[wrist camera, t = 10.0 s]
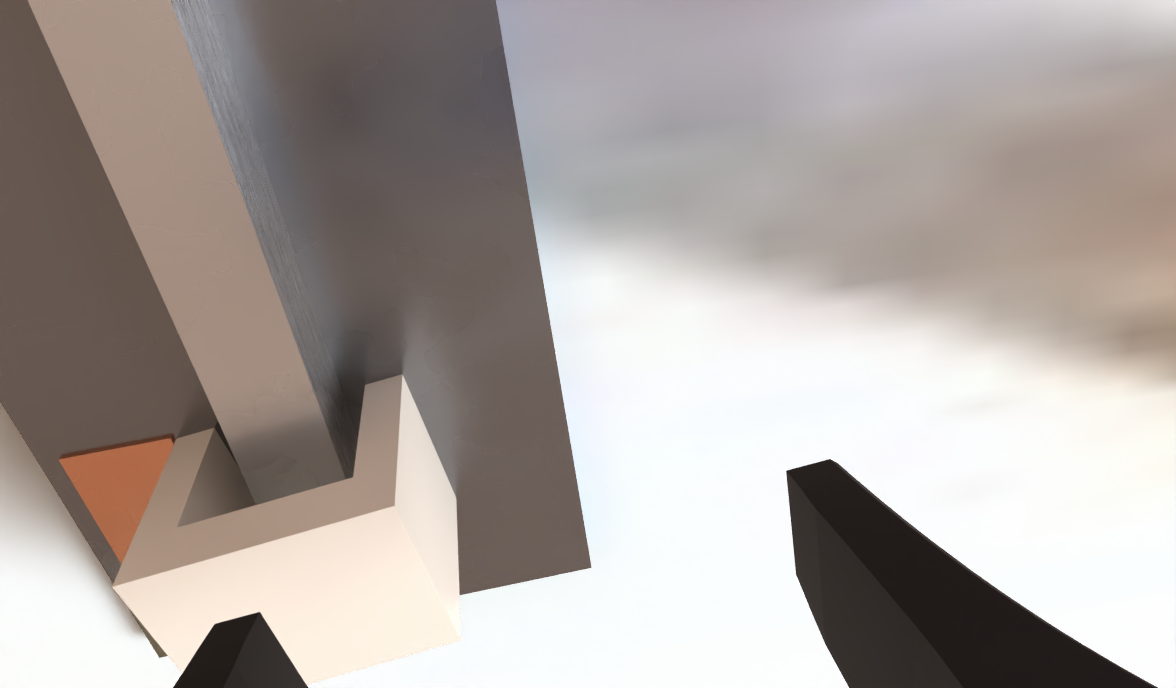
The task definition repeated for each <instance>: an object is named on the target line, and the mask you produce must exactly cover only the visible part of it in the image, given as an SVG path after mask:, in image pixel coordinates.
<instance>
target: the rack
mask: <svg viewBox="0 0 1176 688" xmlns="http://www.w3.org/2000/svg"><path fill="white" fill-rule="evenodd" d="M401 374H403V376H404V379H405V381H406V383H407V386H408V388H409V390H410V392H411V395H412V397H413V399H414V402H415V404H416V406H417V409H418V411H419V413H420V415H421V418H422V420H423V422H424V425H425V427H426V429H427V432H428V434H429V436H430V438H431V441H432V443H433V445H434V448H435V450H436V452H437V455H438V457H439V459H440V461H441V464H442V466H443V468H444V471H445V473H446V475H447V478H448V480H449V482H450V484H451V487H452V489H453V491H454V494H455V496H456V505H457V535H458V565H459V595H462V594H467V593H472V592H477V591H482V590H486V589H491V588H496V587H501V586H506V585H510V584H515V583H520V582H525V581H530V580H534V579H539V578H544V577H549V576H554V575H558V574H563V573H568V572H573V571H578V570H582V569H587V568H591V562H590V556H589V550H588V545H587V539H586V533H585V527H584V521H583V515H582V509H581V503H580V497H579V491H578V485H577V479H576V474H575V468H574V462H573V456H572V450H571V444H570V438H569V432H568V426H567V420H566V414H565V409H564V403H563V397H562V391H561V385H560V379H559V373H558V367H557V361H556V355H555V349H554V343H553V338H552V332H551V326H550V320H549V314H548V308H547V302H546V296H545V290H544V284H543V278H542V272H541V267H540V261H539V255H538V249H537V243H536V237H535V231H534V225H533V219H532V213H531V207H530V202H529V196H528V190H527V184H526V178H525V172H524V166H523V160H522V154H521V148H520V142H519V136H518V131H517V125H516V119H515V113H514V107H513V101H512V95H511V89H510V83H509V77H508V71H507V65H506V60H505V54H504V48H503V42H502V36H501V30H500V24H499V18H498V12H497V6H496V0H0V401H1V403H2V405H3V406H4V408H5V409H6V411H7V413H8V414H9V416H10V418H11V419H12V421H13V422H14V424H15V426H16V427H17V429H18V430H19V432H20V434H21V435H22V437H23V439H24V440H25V442H26V443H27V445H28V447H29V448H30V450H31V451H32V453H33V455H34V456H35V458H36V459H37V461H38V463H39V464H40V466H41V468H42V469H43V471H44V472H45V474H46V476H47V477H48V479H49V480H50V482H51V484H52V485H53V487H54V488H55V490H56V492H57V493H58V495H59V497H60V498H61V500H62V501H63V503H64V505H65V506H66V508H67V509H68V511H69V513H70V514H71V516H72V517H73V519H74V521H75V522H76V524H77V526H78V527H79V529H80V530H81V532H82V534H83V535H84V537H85V538H86V540H87V542H88V543H89V545H90V546H91V548H92V550H93V551H94V553H95V555H96V556H97V558H98V559H99V561H100V563H101V564H102V566H103V567H104V569H105V571H106V572H107V574H108V576H109V577H110V579H111V580H112V582H113V583H114V581H115V579H116V577H117V574H118V572H119V570H120V567H121V565H122V563H123V560H124V558H125V556H126V554H127V551H128V549H129V547H130V544H131V542H132V540H133V537H134V535H135V533H136V531H137V528H138V526H139V524H140V521H141V519H142V517H143V515H144V512H145V510H146V508H147V505H148V503H149V501H150V498H151V496H152V494H153V492H154V489H155V487H156V485H157V482H158V480H159V478H160V475H161V473H162V471H163V469H164V466H165V464H166V462H167V459H168V457H169V455H170V452H171V450H172V448H173V446H174V443H175V441H176V439H177V438H180V437H184V436H187V435H191V434H194V433H198V432H201V431H205V430H208V429H212V428H215V430H216V431H217V433H218V435H219V436H220V438H221V439H222V441H223V443H224V444H225V446H226V448H227V449H228V451H229V452H230V454H231V456H232V457H233V459H234V461H235V462H236V464H237V465H238V467H239V469H240V470H241V473H242V475H243V477H244V479H245V481H246V484H247V486H248V488H249V490H250V492H251V495H252V497H253V499H254V501H255V504H256V505H258V504H262V503H265V502H269V501H272V500H276V499H279V498H283V497H286V496H290V495H293V494H297V493H300V492H304V491H307V490H310V489H314V488H317V487H321V486H324V485H328V484H331V483H335V482H338V481H342V480H345V479H349V478H352V477H353V474H354V466H355V459H356V451H357V443H358V435H359V427H360V420H361V412H362V404H363V396H364V389H365V385H366V384H370V383H373V382H377V381H380V380H384V379H387V378H391V377H394V376H398V375H401ZM128 608H129V607H128ZM130 611H131V610H130ZM131 613H132V614H133V612H132V611H131ZM133 616H134V617H135V619H136V621H137V622H138V624H139V625H140V627H141V629H142V630H143V632H144V634H145V635H146V637H147V638H148V640H149V642H150V643H151V645H152V646H153V648H154V650H155V651H156V653H157V654H158V656H159V658H160V657H165V656H168V655H167V654H166V653H165V652H164V650H163V649H162V648H161V647H160V645H159V644H158V643H157V642H156V641H155V639H154V638H153V637H152V636H151V634H150V633H149V632H148V631H147V629H146V628H145V627H144V626H143V625H142V623H141V622H140V621H139V620H138V618H137V617H136V616H135V615H134V614H133Z"/></svg>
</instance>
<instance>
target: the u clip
mask: <svg viewBox="0 0 1176 688" xmlns="http://www.w3.org/2000/svg"><path fill="white" fill-rule="evenodd" d="M112 588H113V589H114V590H115V591H116V593H117V594H118V595H119V596H120V598H121V599H122V600H123V601H124V602H125V604H126V605H127V606H128V607H129V609H130V610H131V611H132V612H133V614H134V615H135V616H136V617H137V618H138V620H139V621H140V622H141V623H142V625H143V626H144V627H145V628H146V629H147V631H148V632H149V633H150V634H151V636H152V637H153V638H154V639H155V641H156V642H157V643H158V644H159V645H160V647H161V648H162V649H163V650H164V652H165V653H166V654H167V655H168V657H169V658H170V659H171V660H172V661H173V663H174V664H175V665H176V666H177V668H178V669H179V670H180V671H181V673H183V672H184V670H185V669H186V667H187V665H188V664H189V662H190V661H191V659H192V658H193V656H194V654H195V653H196V651H197V650H198V648H199V647H200V645H201V644H202V642H203V641H204V639H205V638H206V636H207V635H208V633H209V632H210V630H211V629H212V627H213V626H214V624H216V623H220V622H223V621H227V620H231V619H235V618H238V617H242V616H246V615H250V614H253V613H257V612H260V613H261V614H262V616H263V618H264V619H265V621H266V622H267V624H268V625H269V627H270V629H271V630H272V632H273V633H274V635H275V636H276V638H277V640H278V641H279V643H280V644H281V646H282V647H283V649H284V650H285V652H286V654H287V655H288V657H289V658H290V660H291V661H292V663H293V665H294V666H295V668H296V669H297V671H298V672H299V674H300V676H301V677H302V679H303V680H304V682H305V683H306V685H308V684H312V683H315V682H319V681H322V680H326V679H329V678H332V677H336V676H339V675H343V674H346V673H350V672H353V671H357V670H360V669H364V668H367V667H370V666H374V665H377V664H381V663H384V662H388V661H391V660H395V659H398V658H401V657H405V656H408V655H412V654H415V653H419V652H422V651H426V650H429V649H433V648H436V647H439V646H443V645H446V644H450V643H453V642H457V641H460V640H461V625H460V595H459V565H458V535H457V505H456V496H455V494H454V491H453V489H452V487H451V484H450V482H449V480H448V478H447V475H446V473H445V471H444V468H443V466H442V464H441V461H440V459H439V457H438V455H437V452H436V450H435V448H434V445H433V443H432V441H431V438H430V436H429V434H428V432H427V429H426V427H425V425H424V422H423V420H422V418H421V415H420V413H419V411H418V409H417V406H416V404H415V402H414V399H413V397H412V395H411V392H410V390H409V388H408V386H407V383H406V381H405V379H404V376H403V374H401V375H398V376H394V377H391V378H387V379H384V380H380V381H377V382H373V383H370V384H366V385H365V389H364V396H363V404H362V412H361V420H360V427H359V435H358V443H357V451H356V459H355V466H354V474H353V477H352V478H349V479H345V480H342V481H338V482H335V483H331V484H328V485H324V486H321V487H317V488H314V489H310V490H307V491H304V492H300V493H297V494H293V495H290V496H286V497H283V498H279V499H276V500H272V501H269V502H265V503H262V504H258V505H256V504H255V501H254V499H253V497H252V495H251V492H250V490H249V488H248V486H247V484H246V481H245V479H244V477H243V475H242V473H241V470H240V469H239V467H238V465H237V464H236V462H235V461H234V459H233V457H232V456H231V454H230V452H229V451H228V449H227V448H226V446H225V444H224V443H223V441H222V439H221V438H220V436H219V435H218V433H217V431H216V430H215V428H212V429H208V430H205V431H201V432H198V433H194V434H191V435H187V436H184V437H180V438H177V439H176V441H175V443H174V446H173V448H172V450H171V452H170V455H169V457H168V459H167V462H166V464H165V466H164V469H163V471H162V473H161V475H160V478H159V480H158V482H157V485H156V487H155V489H154V492H153V494H152V496H151V498H150V501H149V503H148V505H147V508H146V510H145V512H144V515H143V517H142V519H141V521H140V524H139V526H138V528H137V531H136V533H135V535H134V537H133V540H132V542H131V544H130V547H129V549H128V551H127V554H126V556H125V558H124V560H123V563H122V565H121V567H120V570H119V572H118V574H117V577H116V579H115V581H114V583H113V586H112Z"/></svg>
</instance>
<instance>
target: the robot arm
mask: <svg viewBox="0 0 1176 688" xmlns="http://www.w3.org/2000/svg"><path fill="white" fill-rule="evenodd" d="M786 473H787V483H788V494H789V504H790V514H791V525H792V535H793V546H794V556H795V566H796V575H797V577H798V580H799V582H800V585H801V587H802V589H803V592H804V594H805V597H806V599H807V602H808V604H809V607H810V609H811V611H812V614H813V616H814V618H815V621H816V623H817V625H818V628H819V630H820V632H821V635H822V637H823V639H824V642H825V644H826V646H827V648H828V650H829V651H830V653H831V655H832V657H833V659H834V661H835V662H836V664H837V666H838V668H839V670H840V672H841V673H842V675H843V677H844V679H845V681H846V682H847V684H848V686H849V688H1157V687H1156V686H1154V685H1152V684H1150V683H1148V682H1147V681H1145V680H1143V679H1141V678H1139V677H1137V676H1136V675H1134V674H1132V673H1130V672H1128V671H1127V670H1125V669H1123V668H1121V667H1120V666H1118V665H1116V664H1115V663H1113V662H1111V661H1110V660H1108V659H1106V658H1104V657H1103V656H1101V655H1099V654H1098V653H1096V652H1094V651H1093V650H1091V649H1089V648H1088V647H1086V646H1084V645H1082V644H1081V643H1079V642H1078V641H1076V640H1074V639H1073V638H1071V637H1070V636H1068V635H1066V634H1065V633H1063V632H1061V631H1060V630H1058V629H1057V628H1055V627H1054V626H1052V625H1051V624H1049V623H1047V622H1046V621H1044V620H1043V619H1041V618H1040V617H1038V616H1037V615H1035V614H1034V613H1032V612H1031V611H1029V610H1028V609H1026V608H1025V607H1023V606H1022V605H1020V604H1019V603H1017V602H1016V601H1014V600H1013V599H1011V598H1010V597H1008V596H1007V595H1005V594H1004V593H1002V592H1001V591H999V590H998V589H997V588H995V587H994V586H992V585H991V584H989V583H988V582H987V581H985V580H984V579H982V578H981V577H980V576H978V575H977V574H975V573H974V572H973V571H971V570H970V569H969V568H967V567H966V566H965V565H963V564H962V563H961V562H959V561H958V560H956V559H955V558H954V557H952V556H951V555H950V554H948V553H947V552H946V551H944V550H943V549H942V548H940V547H939V546H938V545H936V544H935V543H934V542H932V541H931V540H930V539H928V538H927V537H926V536H925V535H923V534H922V533H921V532H919V531H918V530H917V529H916V528H914V527H913V526H912V525H911V524H909V523H908V522H907V521H906V520H904V519H903V518H902V517H901V516H899V515H898V514H897V513H896V512H894V511H893V510H892V509H891V508H890V507H888V506H887V505H886V504H885V503H883V502H882V501H881V500H880V499H879V498H877V497H876V496H875V495H874V494H873V493H871V492H870V491H869V490H868V489H867V488H866V487H864V486H863V485H862V484H861V483H860V482H859V481H857V480H856V479H855V478H854V477H853V476H852V475H850V474H849V473H848V472H847V471H846V470H845V469H844V468H842V467H841V466H840V465H839V464H838V463H836V462H834V461H832V460H831V459H829V460H825V461H821V462H818V463H814V464H810V465H806V466H803V467H799V468H795V469H791V470H788V471H786ZM173 688H308V687H307V685H306V683H305V682H304V680H303V679H302V677H301V676H300V674H299V672H298V671H297V669H296V668H295V666H294V665H293V663H292V661H291V660H290V658H289V657H288V655H287V654H286V652H285V650H284V649H283V647H282V646H281V644H280V643H279V641H278V640H277V638H276V636H275V635H274V633H273V632H272V630H271V629H270V627H269V625H268V624H267V622H266V621H265V619H264V618H263V616H262V614H261V613H260V612H257V613H253V614H250V615H246V616H242V617H238V618H235V619H231V620H227V621H223V622H220V623H216V624H214V626H213V627H212V629H211V630H210V632H209V633H208V635H207V636H206V638H205V639H204V641H203V642H202V644H201V645H200V647H199V648H198V650H197V651H196V653H195V654H194V656H193V658H192V659H191V661H190V662H189V664H188V665H187V667H186V669H185V670H184V672H183V673H182V675H181V676H180V678H179V680H178V681H177V683H176V684H175V686H174V687H173Z"/></svg>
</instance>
